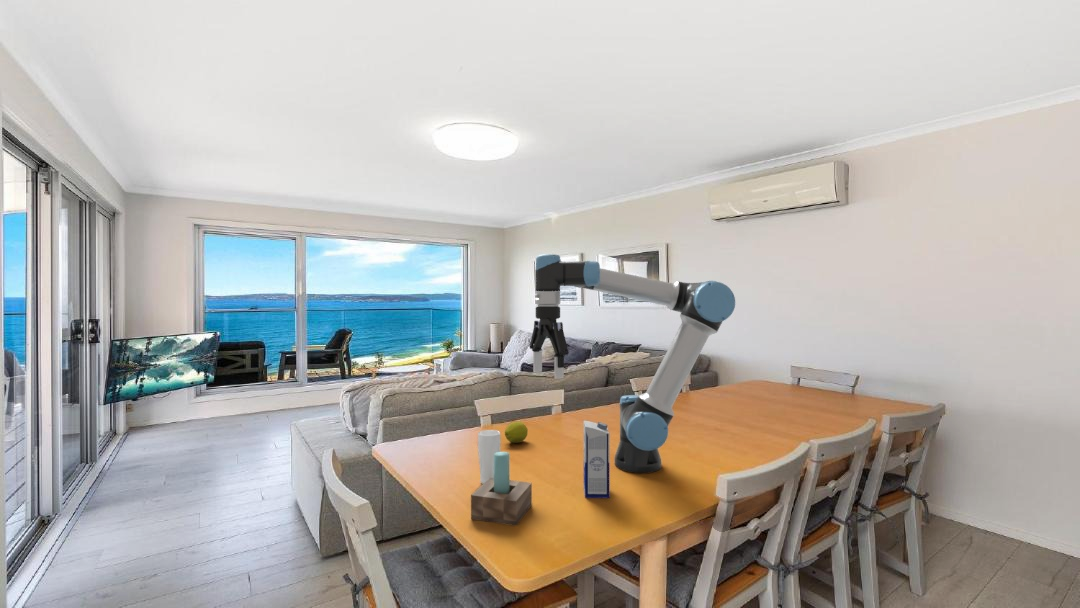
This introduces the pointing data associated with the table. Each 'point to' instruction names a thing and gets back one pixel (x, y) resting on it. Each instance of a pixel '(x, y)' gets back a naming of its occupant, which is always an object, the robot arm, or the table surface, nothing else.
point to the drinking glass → (488, 452)
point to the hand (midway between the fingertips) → (547, 375)
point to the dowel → (501, 472)
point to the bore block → (501, 502)
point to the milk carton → (596, 460)
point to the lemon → (516, 432)
